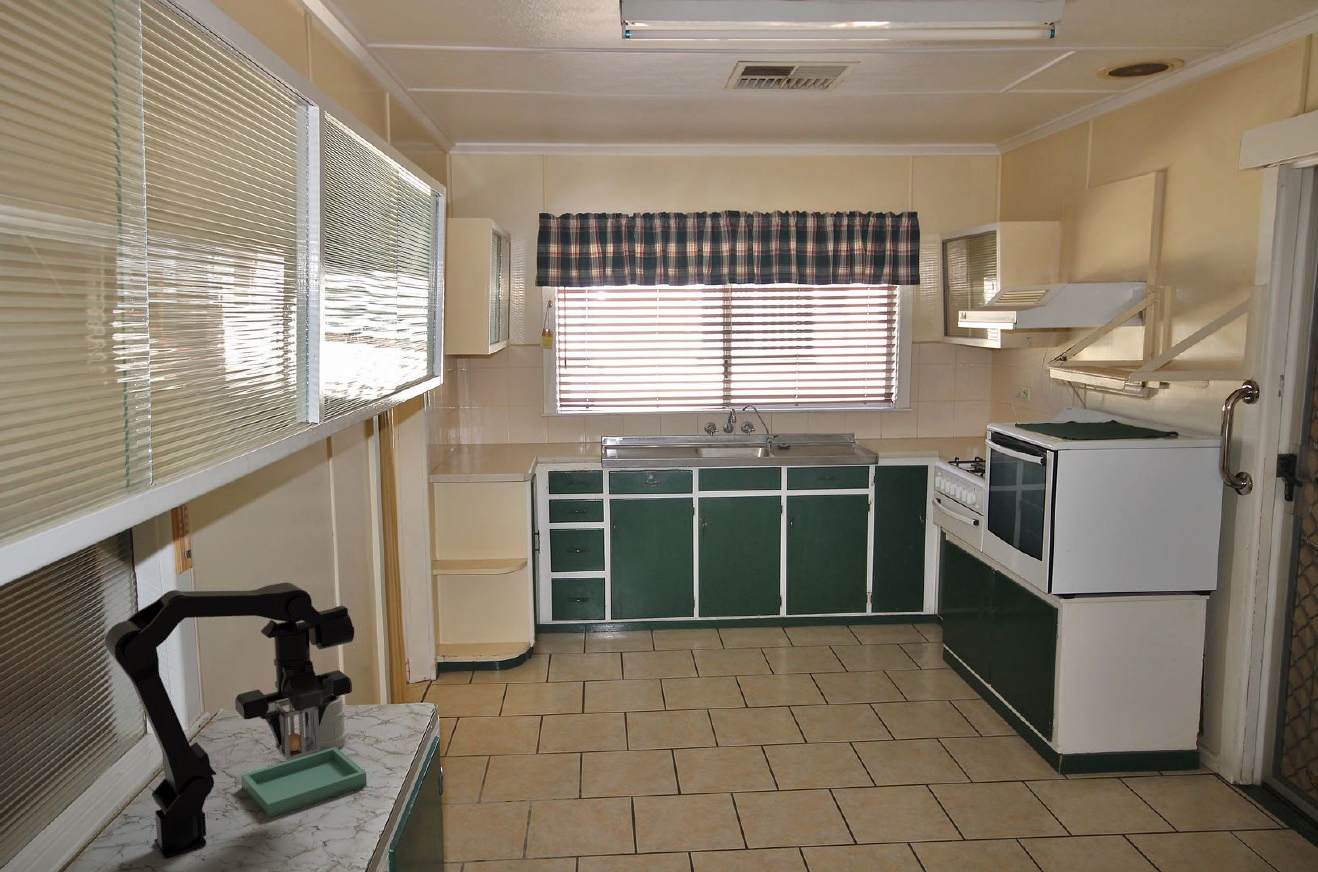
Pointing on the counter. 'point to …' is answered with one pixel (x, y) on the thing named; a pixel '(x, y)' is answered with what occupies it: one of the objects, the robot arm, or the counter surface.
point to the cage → (311, 725)
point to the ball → (294, 741)
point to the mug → (332, 726)
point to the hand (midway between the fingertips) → (297, 739)
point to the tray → (302, 781)
